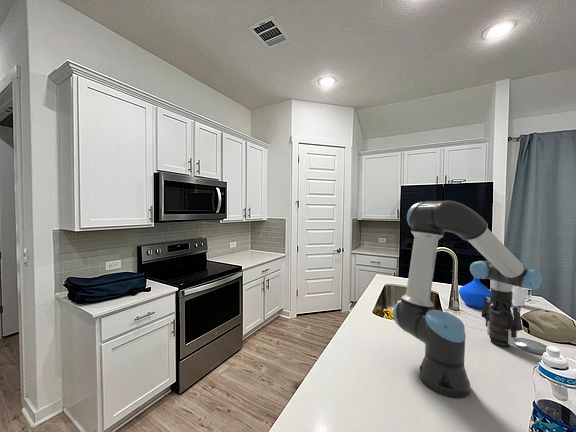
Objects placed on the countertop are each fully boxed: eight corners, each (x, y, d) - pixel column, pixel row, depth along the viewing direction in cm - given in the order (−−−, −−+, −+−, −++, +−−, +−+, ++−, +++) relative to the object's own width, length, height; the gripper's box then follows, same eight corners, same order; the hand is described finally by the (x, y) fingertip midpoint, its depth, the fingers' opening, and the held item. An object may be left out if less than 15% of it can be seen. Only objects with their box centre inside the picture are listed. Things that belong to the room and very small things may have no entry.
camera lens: (516, 349, 108) (517, 315, 108) (495, 347, 110) (496, 314, 109) (504, 340, 116) (505, 308, 116) (484, 338, 118) (485, 307, 117)
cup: (530, 307, 156) (531, 288, 156) (516, 307, 156) (516, 288, 156) (517, 302, 165) (518, 284, 165) (504, 302, 165) (504, 284, 165)
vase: (462, 298, 172) (463, 271, 172) (496, 306, 159) (497, 276, 158) (455, 305, 160) (455, 275, 159) (491, 313, 146) (492, 281, 146)
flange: (539, 357, 103) (539, 353, 103) (506, 342, 114) (506, 339, 114) (557, 352, 106) (557, 349, 106) (523, 338, 118) (523, 335, 118)
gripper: (535, 296, 104) (534, 349, 104) (483, 282, 123) (482, 327, 124) (523, 297, 101) (522, 352, 102) (472, 283, 121) (471, 329, 122)
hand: (500, 338), depth 113 cm, fingers closed on camera lens, 8 cm apart
